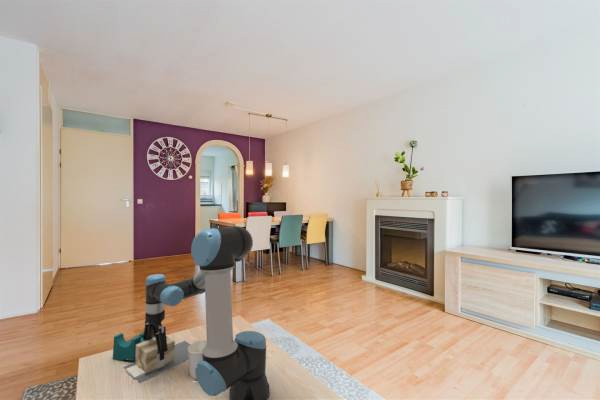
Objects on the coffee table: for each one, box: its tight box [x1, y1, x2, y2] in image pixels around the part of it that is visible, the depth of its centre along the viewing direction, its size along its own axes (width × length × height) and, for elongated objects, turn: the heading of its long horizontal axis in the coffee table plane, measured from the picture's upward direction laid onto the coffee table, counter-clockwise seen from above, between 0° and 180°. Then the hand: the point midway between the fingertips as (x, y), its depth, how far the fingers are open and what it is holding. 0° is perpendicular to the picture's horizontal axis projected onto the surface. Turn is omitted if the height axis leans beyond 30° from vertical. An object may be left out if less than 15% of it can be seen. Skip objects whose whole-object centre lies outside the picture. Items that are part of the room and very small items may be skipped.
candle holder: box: [187, 340, 207, 382], centre depth 118 cm, size 10×10×12 cm
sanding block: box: [134, 335, 176, 375], centre depth 122 cm, size 10×12×9 cm
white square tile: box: [125, 365, 140, 377], centre depth 117 cm, size 4×4×1 cm
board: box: [123, 340, 192, 384], centre depth 126 cm, size 16×28×2 cm, turn 143°
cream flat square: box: [130, 369, 145, 380], centre depth 115 cm, size 4×4×1 cm
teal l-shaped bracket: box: [112, 331, 155, 362], centre depth 133 cm, size 18×11×10 cm, turn 168°
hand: (154, 361), depth 122 cm, fingers closed on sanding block, 10 cm apart
